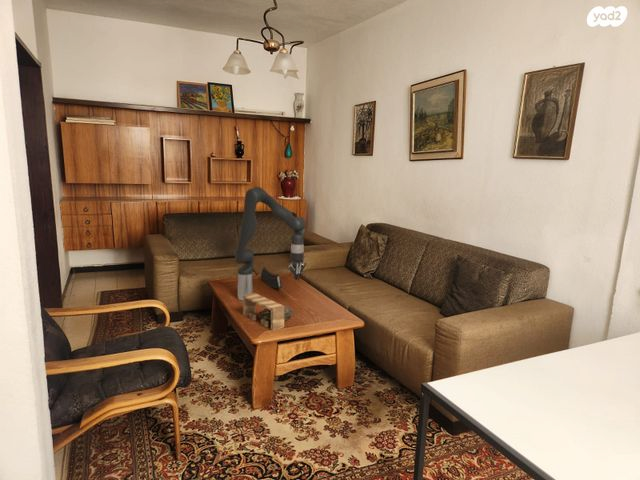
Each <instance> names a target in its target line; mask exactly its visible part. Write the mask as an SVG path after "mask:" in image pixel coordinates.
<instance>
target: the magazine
mask: <svg viewBox="0 0 640 480" xmlns="http://www.w3.org/2000/svg"><path fill="white" fill-rule="evenodd" d="M260 275H261V277H260V279H261V280H262V281H263V282H264V283H265V284H266V285H268V286H269V287H270V288H273V289H276V290H277V291H279V290H280V289H282V288H283V287H282V286H283V285H282V284H283V283H282V279H281V277H280V274H274V273H272V272H271V271H270V270H268V269H267V268H266V267H265V266H264V267H262V270H261V274H260Z"/></svg>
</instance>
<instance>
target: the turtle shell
mask: <svg viewBox="0 0 640 480" xmlns="http://www.w3.org/2000/svg"><path fill="white" fill-rule="evenodd" d="M283 306H284V321H287V320H289V319H290V318H291V317H292V316H293V314H294V310H293V309H292V308H291V307H290V306H285V305H283ZM257 317H258V318H259V319H260V320H261V319H265V320H267V321H269V323H271V310H269V309H267V308H265V309H262V310H260V311H259V312H258V313H257Z"/></svg>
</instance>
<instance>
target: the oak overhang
mask: <svg viewBox="0 0 640 480" xmlns="http://www.w3.org/2000/svg"><path fill="white" fill-rule="evenodd" d="M257 305H259V306H261V307H263V308H265V309H266V308H267V309H269V310H271V322H269V321H267V320H265V319H260V325H261V326H263V327H265V328H269V326H270V330H271V331H272V330H273V332H274V331H277V330H280V329H283V328H285V320H284V306H285V305H283V304H281V303H278V302H276V301H274V300H272V299H269V298H267V297H265V296H262V295H260V294H258V293H256V292H253V293H250V294H246V295H243V301H242V316H243V317H247V316H248V319H249V320H251V321H254V322H255V321H257V315H256V313H257Z"/></svg>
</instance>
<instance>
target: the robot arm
mask: <svg viewBox="0 0 640 480" xmlns="http://www.w3.org/2000/svg"><path fill="white" fill-rule="evenodd" d="M258 203H262V204H264V205H265V206H267V207H268V208H269V209H270V211H271V212H272V214H273V215H275V216H276V218H278V219H280V220H281V221H283V222H284V223H285V224H286V225H287V226H288V228H290V229H292V230H294V231H293V234H292V235H291V246H290V260H291V261H290V264H289V265H287V269H288V270H289V271H290V273H292V274H294V275H293V278H294V280H296V281H298V280H299V279H300V274H301V273H302V272H303V271H304V269H305V267H306V265H307V263H305V262H304V258H305V257H304V255H305V253H304V252H305V250H304V249H305V247H304V244H305V243H304V242H305V241H304V236H305V232H306V226H307V224H306V219H305V218H303V217H301V216H298V217H296V216H294V215H293V213H292V211H290V210H289V209H287V208H286V207H285V206H284V205H282V204H280V203H279V202H278V201H276V200H275V199H274V198H273V196H271V195H270V194H269V193H268V192H267V191H266V190H265V189H263V188H262V187H261V186H254V187H252V188H249V189H247V191H246V192H245V196H244V209H243V214H242V221H241V226H240V232H239V237H238V242H237V246H236V249H235V252H234V260H235V262H236V264H239V265H241V264H242V266H241V267H239V268H238V269H237V298H238V300H239V301H242V302H243V295H246V294H250V293H254V291H253V290H254V289H253V288H254V287H253V285H254V284H253V283H254V281H253V279H254V278H253V271H254V262H255V259H254V257H255V256H254V251H253V249H252V248H251V247H248V248H247V245H248V244H249V243H250V241H251V240H252V239H253V238H254V236H255V234H256V232H257V227H258V220H257V217H256V209H257V208H256V207H257V204H258Z"/></svg>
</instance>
